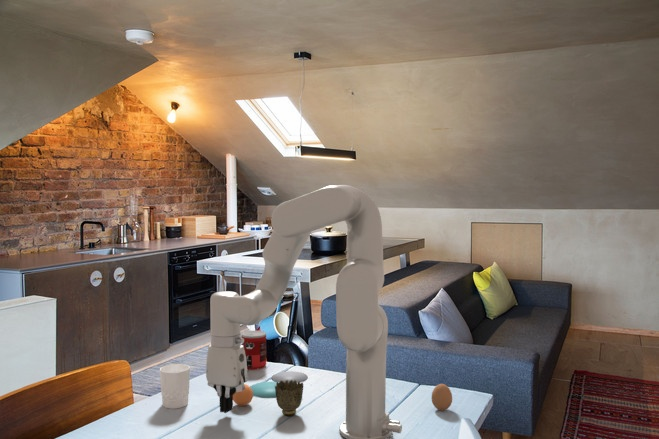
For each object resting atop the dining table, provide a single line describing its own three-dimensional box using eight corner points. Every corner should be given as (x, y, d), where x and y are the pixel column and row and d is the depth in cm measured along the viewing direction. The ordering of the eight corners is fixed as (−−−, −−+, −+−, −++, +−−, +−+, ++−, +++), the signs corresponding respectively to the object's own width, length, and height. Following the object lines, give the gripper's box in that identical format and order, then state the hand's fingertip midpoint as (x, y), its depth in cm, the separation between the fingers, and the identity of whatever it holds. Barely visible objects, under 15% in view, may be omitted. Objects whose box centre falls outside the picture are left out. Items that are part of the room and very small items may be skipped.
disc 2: (313, 374, 190) (313, 374, 190) (297, 385, 180) (297, 385, 180) (282, 370, 194) (282, 369, 194) (265, 380, 184) (265, 379, 184)
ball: (251, 383, 162) (244, 404, 159) (258, 390, 166) (251, 410, 164) (233, 379, 164) (225, 399, 161) (241, 385, 168) (233, 405, 166)
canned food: (238, 364, 200) (238, 331, 199) (261, 361, 203) (261, 329, 203) (245, 371, 193) (245, 337, 192) (269, 368, 196) (269, 334, 196)
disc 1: (300, 386, 179) (300, 385, 179) (278, 400, 167) (278, 399, 167) (262, 379, 185) (262, 379, 185) (238, 393, 173) (238, 392, 173)
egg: (428, 407, 163) (428, 381, 162) (446, 405, 164) (447, 380, 164) (436, 414, 158) (436, 388, 157) (455, 412, 159) (456, 386, 158)
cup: (299, 421, 153) (299, 390, 153) (271, 418, 155) (271, 388, 154) (306, 410, 160) (306, 380, 160) (279, 408, 162) (279, 378, 161)
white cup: (154, 406, 163) (153, 369, 162) (174, 397, 170) (173, 362, 169) (176, 411, 159) (176, 374, 158) (196, 402, 166) (196, 366, 165)
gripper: (258, 340, 155) (258, 410, 156) (210, 334, 161) (210, 401, 162) (242, 347, 148) (242, 421, 149) (192, 340, 155) (193, 411, 156)
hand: (226, 410), depth 156 cm, fingers closed
